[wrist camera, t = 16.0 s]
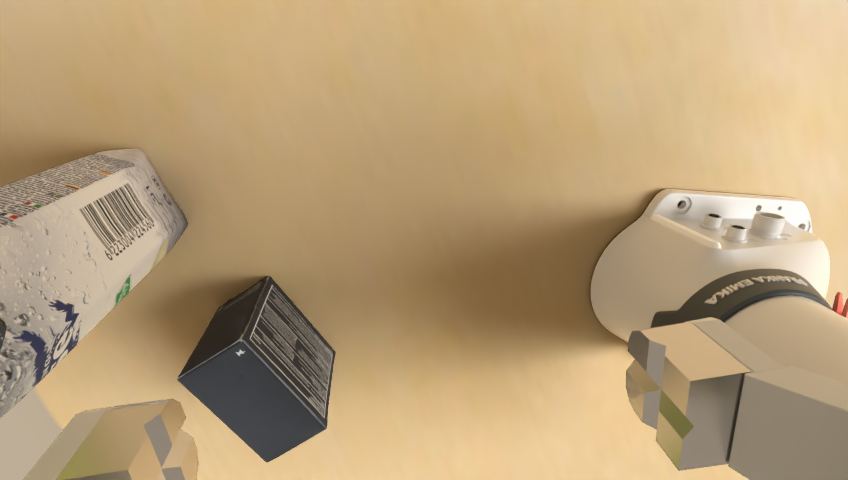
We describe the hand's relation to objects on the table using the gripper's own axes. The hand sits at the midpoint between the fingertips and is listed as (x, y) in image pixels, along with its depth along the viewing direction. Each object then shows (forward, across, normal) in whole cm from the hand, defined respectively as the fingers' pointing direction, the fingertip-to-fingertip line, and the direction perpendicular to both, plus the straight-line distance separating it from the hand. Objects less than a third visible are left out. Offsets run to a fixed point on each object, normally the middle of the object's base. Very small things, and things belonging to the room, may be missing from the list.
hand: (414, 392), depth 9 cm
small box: (+34, +12, +18) cm, 41 cm away
